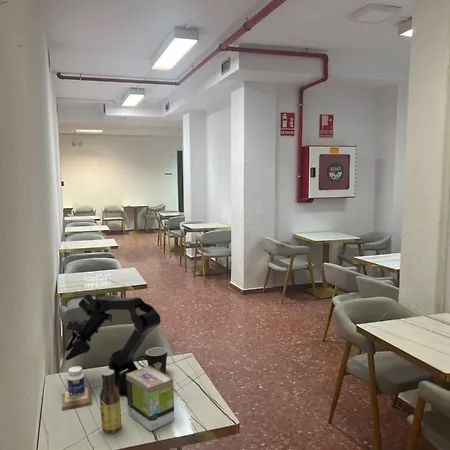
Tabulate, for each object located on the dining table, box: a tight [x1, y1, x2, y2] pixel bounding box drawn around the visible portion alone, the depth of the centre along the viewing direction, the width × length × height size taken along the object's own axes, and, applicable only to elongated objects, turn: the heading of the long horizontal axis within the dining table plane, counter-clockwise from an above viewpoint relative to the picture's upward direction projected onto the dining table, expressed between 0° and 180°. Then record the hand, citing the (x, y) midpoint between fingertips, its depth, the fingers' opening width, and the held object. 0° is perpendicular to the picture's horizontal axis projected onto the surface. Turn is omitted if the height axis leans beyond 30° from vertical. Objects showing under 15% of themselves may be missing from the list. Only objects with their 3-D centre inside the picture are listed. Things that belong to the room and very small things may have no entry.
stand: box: [61, 387, 93, 411], centre depth 160 cm, size 10×10×2 cm
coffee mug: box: [136, 346, 168, 375], centre depth 179 cm, size 12×9×10 cm
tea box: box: [126, 365, 176, 432], centre depth 147 cm, size 15×10×15 cm, turn 41°
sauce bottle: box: [99, 368, 122, 435], centre depth 140 cm, size 7×6×20 cm
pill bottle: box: [67, 365, 86, 398], centre depth 159 cm, size 6×6×10 cm
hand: (66, 354), depth 168 cm, fingers open, 9 cm apart
